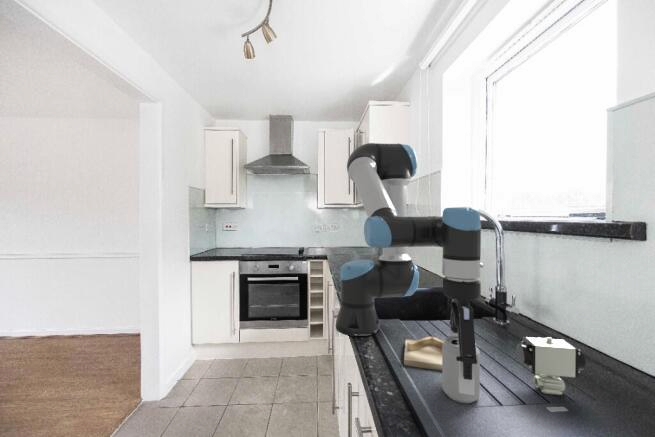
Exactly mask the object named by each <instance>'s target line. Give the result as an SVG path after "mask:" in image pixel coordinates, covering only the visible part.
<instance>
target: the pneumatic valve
mask: <svg viewBox="0 0 655 437" xmlns="http://www.w3.org/2000/svg"><path fill="white" fill-rule="evenodd" d="M520 342H521V343H517V345H516V348H515V351H516V352H515V354H516V357H517V360H518V362H519V364H521V365H523V366H525V367H526V368H527V370H529V372H530V373H531V374H535V375H534V376H533V382H534V386H535V388H537V389H540V391H541V393H543V394H544V395H545V394H547V395H553V396H556V395H557V396H562V395H563V392H564V391H565V389H566V384H565V381H564V380H563V379H562V378H560V377H567V378H579V374H580V373H581V371H583V370H585V369H586V364H587V362H586V357H585V355H584V353H583V351H582V349H580V348H579V347H577V346H576V345H573V344H572V343H571V342H570V341H568V340H566V339H559V338H557V339H555V338H552V337H551V336H546V337H540V336H538V337H531V336H529V337H528V336H522V340H521V341H520Z"/></svg>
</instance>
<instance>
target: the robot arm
mask: <svg viewBox="0 0 655 437" xmlns="http://www.w3.org/2000/svg"><path fill="white" fill-rule="evenodd" d="M417 168H418V158H417V154H416V150H415V149H414V148H413V147H412V146H411V145H409V144H403V143H375V142H368V143H364V144H361V145H360V146H358V147H356V148H355V149H354V150H353V151H352V153H351V154H350V155H349V157H348V159H347V163H346V171H347V175H348V177H349V178H350V180H351V181H353V182H354V184H355V187H356V190H357V193H358V195H359V198H360V200H361V203H362V205H363V208H364V210H365V213H366V216H367V218H366V220H365V222H364V225H363V235H364V242H365V243H366V245H367V246H368V247H370V248H381V249H382V253H381V255H380V256H379V257H378V262H377V263H375V262H374V260H372V259H358V260H357V259H356V260H350V261H348V262H345V263H344V264H342V266H341V268H340V277H339V278H340V306H339V310H338V314H337V317H336V320H335V330H336V331H337V332H338V333H340V334H342V335H345V336H349V337H353V336H352V335H353V334H371V333H372V332H373V331H374V330H376V329H378V328H379V329H380V321H379V317H378V314H377V311H376V308H375V299H376V298H377V299H378V298H403V297H410V296H413V295H414V294H415V292H417V289H418V287H419V281H420V272H419V271H418V270H419V268H418V266H417V265H416V264H415V263H414V262H413V257H411V256H410V255H409V253H408V248H417V247H418V248H420V247H421V248H425V247H428V248H429V247H431V248H432V247H437V248H442V261H441V262H442V265H441V266H442V275H443V276H444V277H443V278H442V294H443V295H445V297H446V298H447V297H448V298H451V302H450V319H449V320H450V321H449V325H450V331H451V332H450V336H458V339H459V350H460V357H456V361H459V393H463V394H470V395H475V364H477V358H476V347H477V345H475V343H476V334H475V322H474V314H475V311H474V308H473V306H471V303H470V301H472V300H474V301H475V300H478V299H480V297H481V296H482V293H481V290H482V288H481V286H482V284H481V283H482V282H481V280H480V278H481V269H483V268H484V263H482V262H481V254H482V253H481V252H482V251H481V250H482V248H481V246H482V244H481V243H482V242H481V238H482V232H481V231H482V223H481V212H480V210H479V209H478V208H477V207H468V206H467V207H464V206H463V207H459V206H458V207H445V208H444V209H443V211H442V216H436V215H434V216H433V215H432V216H431V215H428V216H408V211H407V210H408V207H407V206H408V204H407V203H408V202H407V201H408V200H407V197H408V196H407V186H408V185H409V184H410V183H411V182H412V180H411V178H413V177H414V176H415V175H416V174H417ZM468 355H471V356H468Z"/></svg>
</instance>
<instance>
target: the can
mask: <svg viewBox="0 0 655 437" xmlns="http://www.w3.org/2000/svg"><path fill="white" fill-rule="evenodd" d="M444 340H445V341H444V343H443V345H442V371H441V372H442V373H441V374H442V375H441V377H442V379H441V383H442V384H441V385H442V386H441V389H442V390H443V392H444V394H446V395H447V397H448V398H450V399H451V400H452V401H455V402H458V403H462V404H471V403H474V402H475V401H477V400H479V398H480V396H481V394H480V388H481V387H480V385H481V384H480V383H481V381H480V380H481V379H480V376H481V374H480V373H481V372H480V371H481V370H480V369H481V368H480V367H481V366H480V364H481V357H480V355H481V353H480V349H479V348H478V347H477V343H476V342H475V345H476V358H477V364H475V395H470V394H463V393H459V361H456V357H460V350H459V339H458V336H451V335H449V336H446V338H445V339H444ZM468 356H471V355H468Z"/></svg>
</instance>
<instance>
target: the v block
mask: <svg viewBox="0 0 655 437" xmlns="http://www.w3.org/2000/svg"><path fill="white" fill-rule="evenodd" d="M404 342H405V344H404V356H403V365H404V366H407V367H414V368H415V367H416V368H421V369H427V370H428V369H429V370H435V371H436V370H437V371H441V372H442V345H443V343H444V342H445V341H444V340H441V339H439V338H437V337H435V336H426V337H422V338H420V339H416V340H415V339H405V341H404Z"/></svg>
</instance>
